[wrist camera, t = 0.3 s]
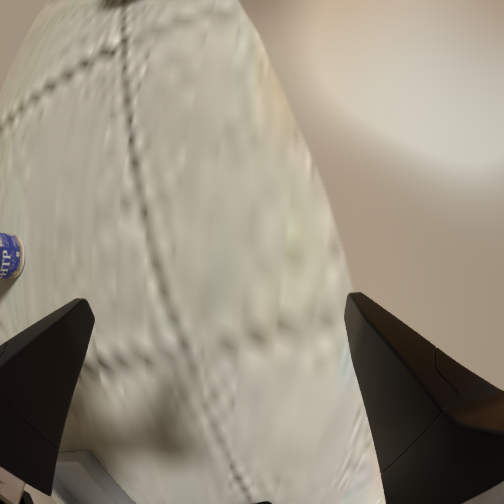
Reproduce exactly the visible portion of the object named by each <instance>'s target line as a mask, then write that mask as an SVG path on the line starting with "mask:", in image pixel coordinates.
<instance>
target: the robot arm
mask: <svg viewBox="0 0 504 504" xmlns="http://www.w3.org/2000/svg"><path fill="white" fill-rule="evenodd" d="M344 320H345V325H346V330H347V336H348V341H349V347H350V353H351V358H352V362H353V366H354V370H355V373H356V377H357V380H358V384H359V387H360V391H361V394H362V398H363V402H364V405H365V409H366V413H367V417H368V421H369V425H370V429H371V433H372V437H373V441H374V446H375V450H376V454H377V459H378V464H379V468H380V473H381V479H382V484H383V489H384V494H385V500H386V504H504V391H503V390H500V389H499V388H497V387H495V386H494V385H492V384H490V383H489V382H487V381H486V380H484V379H483V378H481V377H479V376H478V375H476V374H475V373H473V372H471V371H470V370H468V369H467V368H465V367H464V366H462V365H461V364H459V363H458V362H456V361H455V360H454V359H452V358H451V357H449V356H448V355H447V354H445V353H444V352H443V351H441V350H440V349H439V348H436V347H435V346H434V345H433V344H432V343H430V342H429V341H428V340H426V339H425V338H424V337H422V336H421V335H420V334H418V333H417V332H416V331H414V330H413V329H411V328H410V327H409V326H407V325H406V324H405V323H403V322H402V321H401V320H399V319H398V318H396V317H395V316H394V315H392V314H391V313H390V312H388V311H387V310H385V309H384V308H383V307H381V306H380V305H378V304H377V303H375V302H374V301H373V300H371V299H370V298H369V297H367V296H366V295H364V294H363V293H361V292H354V293H349V294H348V296H347V301H346V307H345V313H344ZM94 323H95V318H94V314H93V312H92V310H91V308H90V306H89V303H88V301H87V300H86V299H82V298H77V299H74V300H73V301H71V302H69V303H68V304H66V305H64V306H63V307H61V308H59V309H58V310H56V311H54V312H53V313H51V314H49V315H48V316H46V317H44V318H43V319H41V320H40V321H38V322H36V323H35V324H33V325H31V326H30V327H28V328H27V329H25V330H24V331H22V332H20V333H19V334H17V335H16V336H14V337H13V338H11V339H10V340H8V341H6V342H5V343H3V344H2V345H0V504H34V503H33V501H32V498H31V496H30V494H29V493H28V492H26V491H25V490H24V487H25V484H26V483H27V484H28V485H30V486H32V487H33V488H35V489H37V490H39V491H41V492H42V493H44V494H46V495H48V496H51V494H52V488H53V481H54V474H55V468H56V463H57V458H58V453H59V447H60V442H61V438H62V434H63V430H64V426H65V422H66V418H67V414H68V410H69V407H70V403H71V400H72V396H73V393H74V390H75V386H76V383H77V380H78V377H79V374H80V371H81V368H82V365H83V362H84V359H85V356H86V352H87V349H88V345H89V341H90V337H91V333H92V330H93V326H94ZM259 504H272V503H271V502H263V503H259Z"/></svg>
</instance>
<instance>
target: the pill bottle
mask: <svg viewBox="0 0 504 504" xmlns="http://www.w3.org/2000/svg"><path fill="white" fill-rule="evenodd" d="M24 261H25V251H24V246H23V243H22V241H21V239H20V238H19V237H18V236H16V235H12V234H5V233H0V278H15V277H17V276H18V275H19V274H20V273H21V271H22V269H23V266H24Z"/></svg>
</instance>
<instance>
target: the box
mask: <svg viewBox="0 0 504 504" xmlns="http://www.w3.org/2000/svg"><path fill="white" fill-rule="evenodd" d="M52 490H53V491H54V492H55V494H56V495H57V496H58V497H59V498H60V499H61V500H62V501H63V502H64V503H65V504H136V503H135V502H134V501H133V500H132V499H131V498H130V497H129V496H128V495H127V494H126V493H125V492H124V491H123V490H122V489H121V488H120V486H119V485H118V484H117V483H116V482H115V481H114V480H113V479H112V477H111V476H110V475H109V474H108V473H107V472H106V470H105V469H104V468H103V467H102V466H101V464H100V463H99V462H98V461H97V459H96V458H95V457H94V455H93V454H92V453H91V452H90V450H85V451H73V452H59V453H58V458H57V463H56V468H55V474H54V481H53V488H52Z"/></svg>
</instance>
